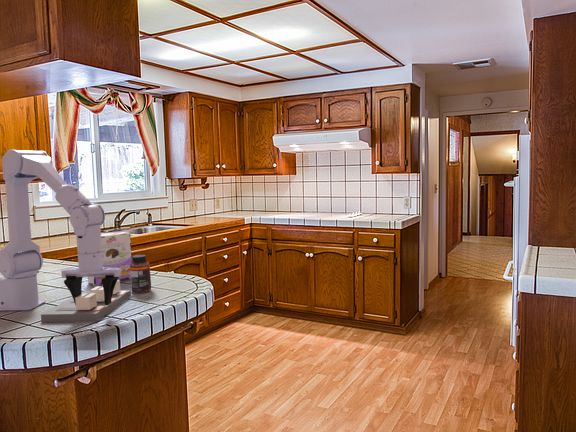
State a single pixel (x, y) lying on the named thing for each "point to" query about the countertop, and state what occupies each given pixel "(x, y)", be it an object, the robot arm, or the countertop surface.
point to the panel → (70, 314)
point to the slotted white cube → (86, 301)
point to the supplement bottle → (140, 274)
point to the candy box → (115, 255)
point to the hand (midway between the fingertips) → (93, 304)
